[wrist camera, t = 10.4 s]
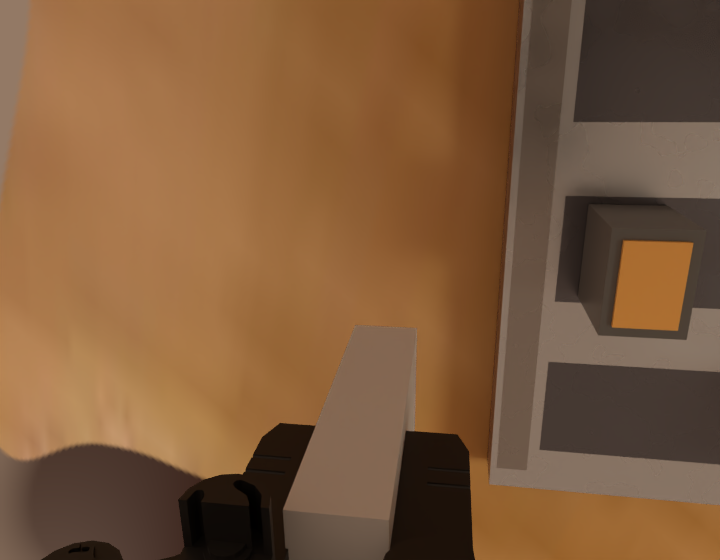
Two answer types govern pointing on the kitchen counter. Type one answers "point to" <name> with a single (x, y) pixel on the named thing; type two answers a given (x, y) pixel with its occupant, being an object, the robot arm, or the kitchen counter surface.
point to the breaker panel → (566, 242)
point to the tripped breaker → (640, 270)
